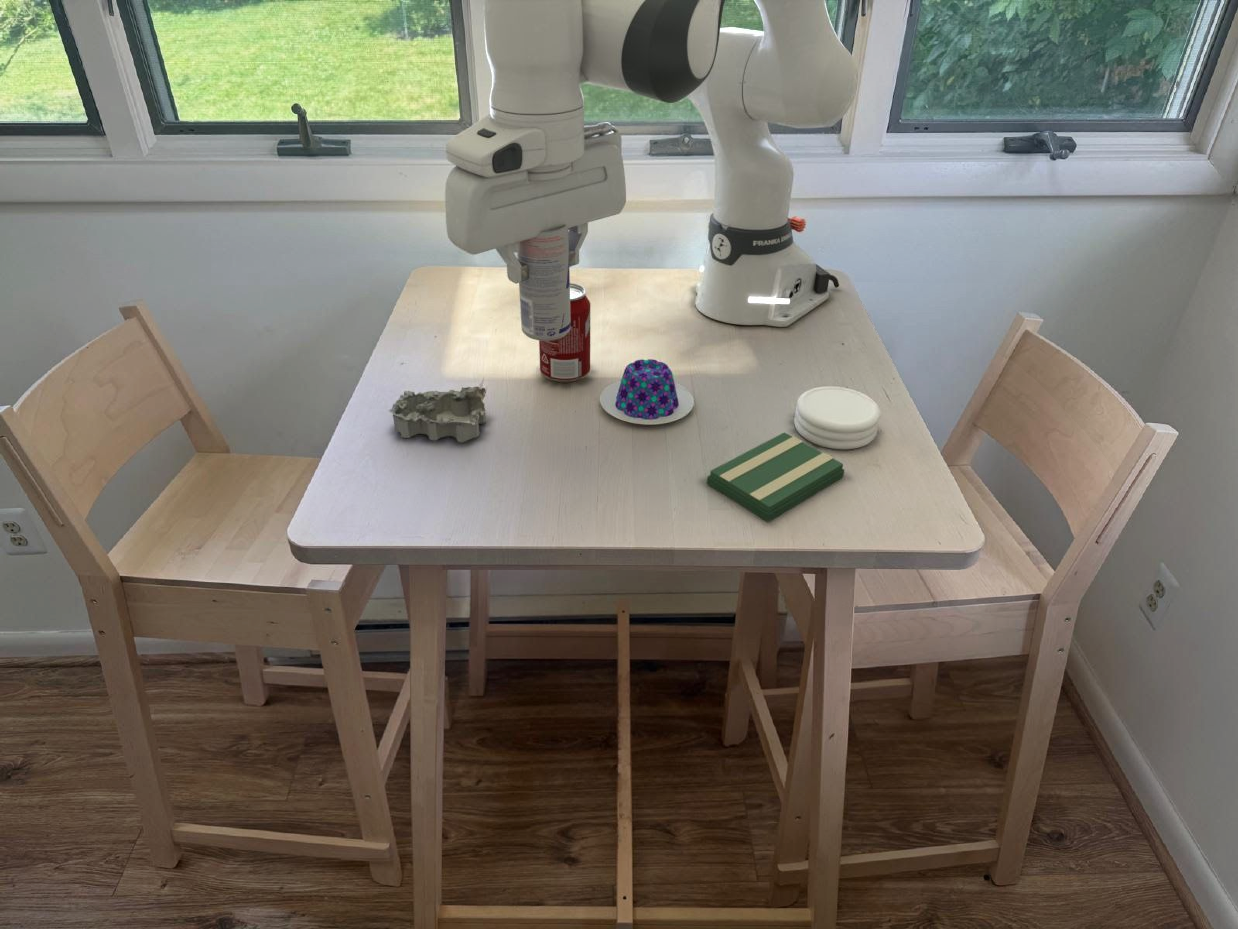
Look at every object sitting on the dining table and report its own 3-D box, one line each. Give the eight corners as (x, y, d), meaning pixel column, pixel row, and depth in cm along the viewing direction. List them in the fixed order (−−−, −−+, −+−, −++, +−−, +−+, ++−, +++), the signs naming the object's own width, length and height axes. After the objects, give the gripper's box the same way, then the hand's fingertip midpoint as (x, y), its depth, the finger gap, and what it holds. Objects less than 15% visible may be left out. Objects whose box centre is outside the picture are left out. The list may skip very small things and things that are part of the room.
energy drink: (567, 318, 97) (565, 213, 91) (573, 340, 93) (571, 231, 86) (520, 321, 97) (513, 215, 90) (523, 343, 92) (517, 233, 85)
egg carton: (491, 415, 108) (490, 386, 106) (473, 447, 102) (471, 418, 100) (410, 406, 110) (406, 377, 107) (387, 437, 103) (383, 407, 101)
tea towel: (782, 443, 104) (784, 430, 103) (843, 477, 99) (846, 463, 98) (706, 483, 97) (707, 469, 96) (767, 522, 92) (770, 507, 90)
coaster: (804, 452, 103) (809, 427, 101) (785, 409, 111) (788, 385, 109) (887, 450, 103) (893, 425, 101) (861, 407, 112) (866, 383, 110)
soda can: (583, 388, 114) (583, 304, 107) (534, 382, 115) (530, 298, 108) (595, 365, 120) (595, 283, 113) (547, 359, 121) (545, 278, 114)
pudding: (589, 387, 114) (589, 351, 111) (675, 377, 117) (677, 342, 114) (614, 435, 105) (614, 397, 102) (707, 422, 108) (710, 385, 105)
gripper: (600, 113, 91) (600, 241, 99) (429, 146, 80) (444, 287, 88) (641, 125, 87) (637, 257, 95) (466, 162, 76) (479, 308, 84)
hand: (543, 272), depth 91 cm, fingers closed on energy drink, 5 cm apart
